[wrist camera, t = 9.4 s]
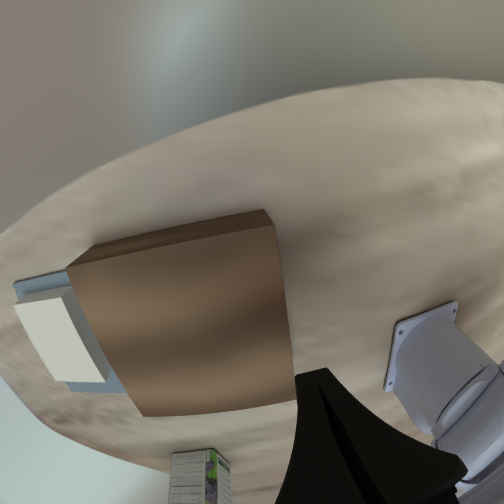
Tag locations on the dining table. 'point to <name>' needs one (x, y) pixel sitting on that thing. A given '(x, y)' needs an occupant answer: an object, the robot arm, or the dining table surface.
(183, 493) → the syrup box
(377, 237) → the dining table surface
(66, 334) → the tile
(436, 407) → the robot arm
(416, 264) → the dining table surface
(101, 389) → the mat
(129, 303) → the block
